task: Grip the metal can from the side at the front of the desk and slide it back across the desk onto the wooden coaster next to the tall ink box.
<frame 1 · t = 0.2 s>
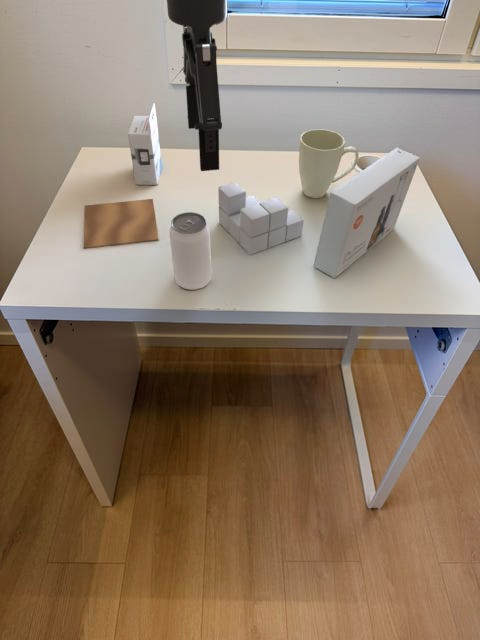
hand: (202, 147, 73), 20 cm above the table, tool pointing down, fingers open, 13 cm apart
can: (193, 279, 83), on the table
mug: (318, 192, 103), on the table
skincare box: (356, 248, 90), on the table
stacked white cubes: (259, 229, 93), on the table
ink box: (149, 176, 106), on the table
wooden coaster: (120, 222, 93), on the table
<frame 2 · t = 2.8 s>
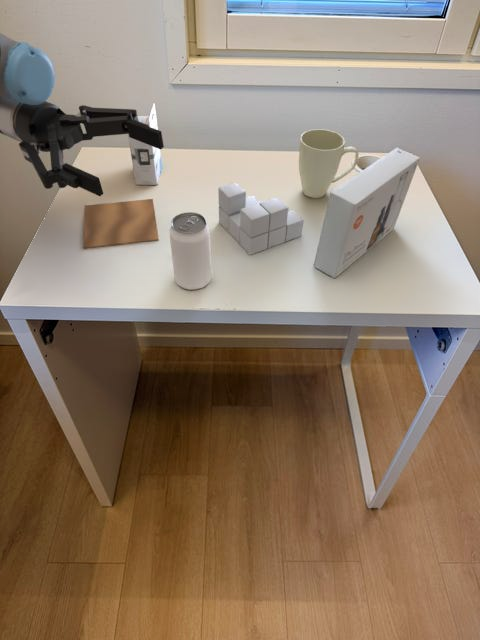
hand: (132, 162, 68), 21 cm above the table, tool horizontal, fingers open, 13 cm apart
nothing on the table moved.
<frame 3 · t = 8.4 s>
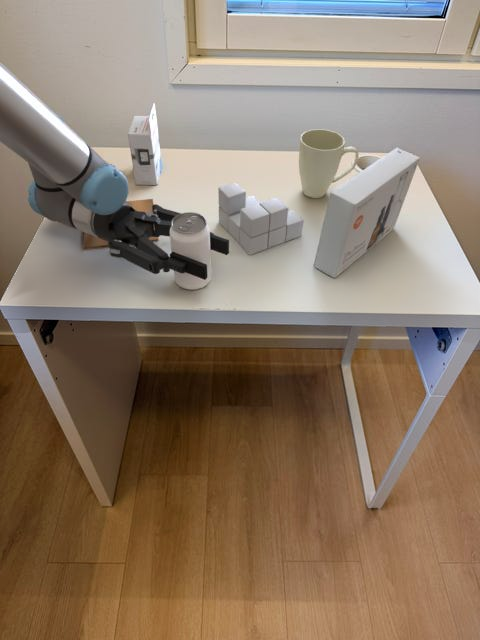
hand: (217, 259, 76), 6 cm above the table, tool horizontal, fingers closed on can, 6 cm apart
can: (193, 279, 83), on the table, touching gripper
everything else where it was.
when the fingers open (7 cm above the table, at t = 14.2 s): can stays where it is, resting on wooden coaster.
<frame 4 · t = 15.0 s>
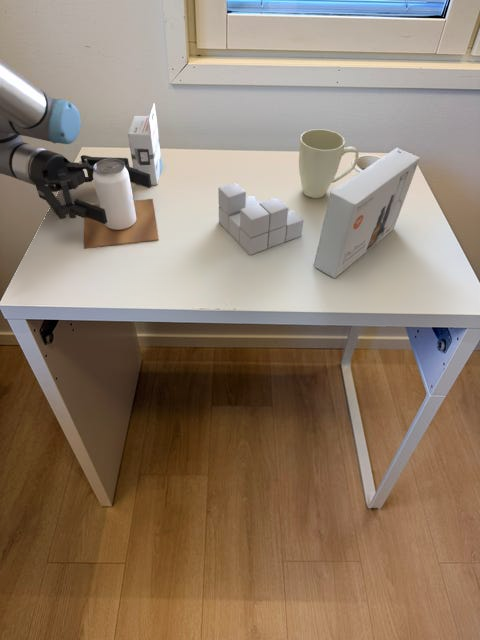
hand: (128, 198, 87), 7 cm above the table, tool horizontal, fingers open, 13 cm apart
can: (120, 222, 93), resting on wooden coaster
everything else where it was.
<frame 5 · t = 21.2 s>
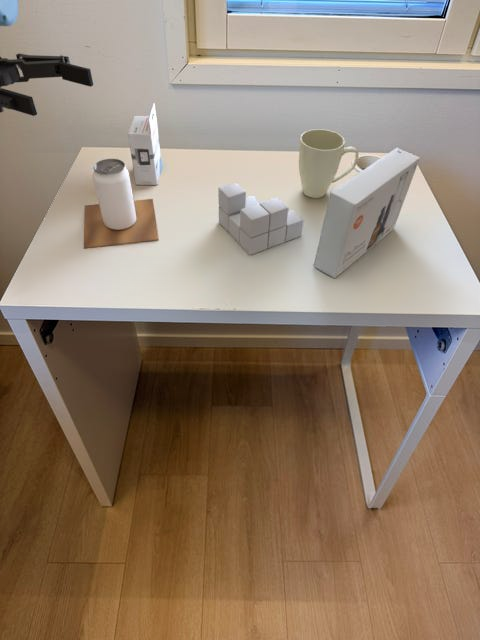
hand: (63, 91, 78), 24 cm above the table, tool horizontal, fingers open, 13 cm apart
nothing on the table moved.
at the end: can inside the target area on the wooden coaster (0.0 cm from its centre), point 0.1 cm above the wooden coaster's base; can 18.4 cm from the ink box (horizontally); can tilted 0° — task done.
